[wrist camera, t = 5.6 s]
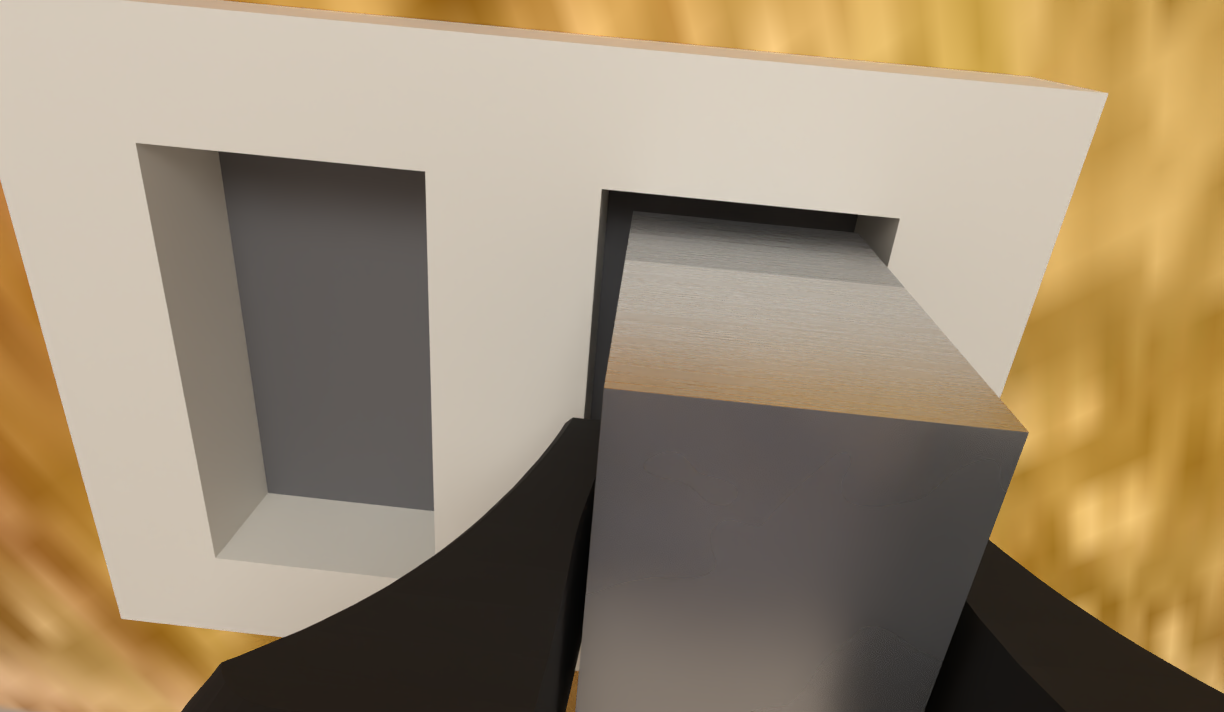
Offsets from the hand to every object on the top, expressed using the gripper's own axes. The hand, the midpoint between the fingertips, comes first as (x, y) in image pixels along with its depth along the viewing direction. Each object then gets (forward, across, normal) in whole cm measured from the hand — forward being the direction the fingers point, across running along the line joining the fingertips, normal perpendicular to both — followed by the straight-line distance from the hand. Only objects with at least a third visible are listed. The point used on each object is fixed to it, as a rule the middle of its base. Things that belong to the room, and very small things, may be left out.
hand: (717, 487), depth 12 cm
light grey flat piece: (+4, +4, 0) cm, 5 cm away
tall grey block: (+2, 0, 0) cm, 2 cm away
